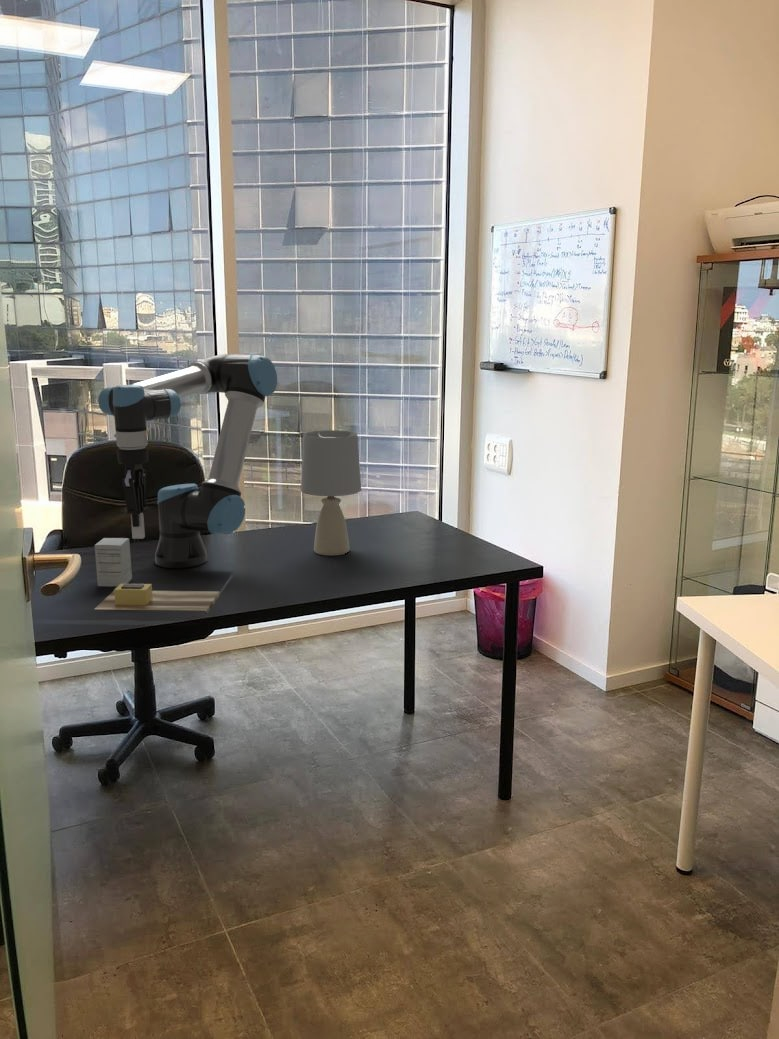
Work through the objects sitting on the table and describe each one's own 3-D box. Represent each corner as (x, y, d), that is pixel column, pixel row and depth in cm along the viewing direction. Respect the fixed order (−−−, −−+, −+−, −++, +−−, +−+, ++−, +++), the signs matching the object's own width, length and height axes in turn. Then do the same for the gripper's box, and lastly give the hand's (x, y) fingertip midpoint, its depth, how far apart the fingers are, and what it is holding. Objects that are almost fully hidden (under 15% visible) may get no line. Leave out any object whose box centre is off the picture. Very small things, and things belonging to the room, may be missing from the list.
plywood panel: (114, 593, 228) (114, 590, 228) (219, 595, 228) (219, 591, 228) (94, 613, 214) (94, 609, 214) (206, 614, 213) (206, 610, 213)
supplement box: (106, 581, 239) (103, 537, 236) (133, 581, 239) (130, 537, 236) (97, 589, 232) (93, 544, 229) (124, 590, 232) (121, 544, 229)
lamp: (372, 553, 268) (372, 435, 259) (320, 562, 258) (319, 440, 249) (341, 540, 283) (340, 428, 274) (291, 548, 273) (288, 432, 264)
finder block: (121, 598, 222) (120, 582, 221) (152, 598, 222) (151, 582, 221) (115, 604, 217) (114, 588, 216) (146, 605, 217) (145, 588, 216)
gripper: (125, 443, 224) (132, 531, 229) (108, 451, 211) (115, 544, 216) (154, 443, 223) (160, 531, 229) (139, 451, 211) (145, 544, 216)
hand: (138, 537), depth 223 cm, fingers closed
